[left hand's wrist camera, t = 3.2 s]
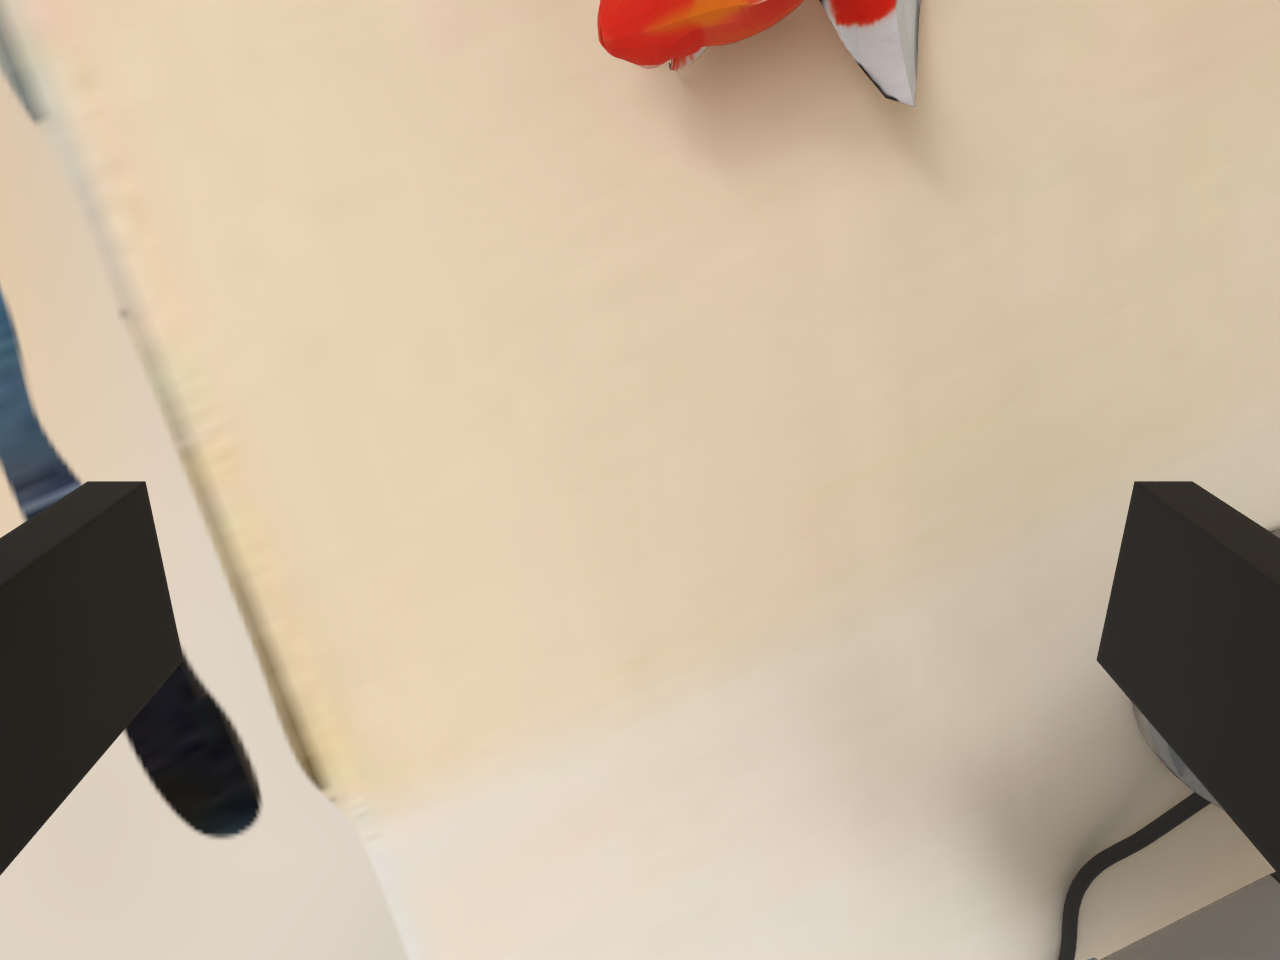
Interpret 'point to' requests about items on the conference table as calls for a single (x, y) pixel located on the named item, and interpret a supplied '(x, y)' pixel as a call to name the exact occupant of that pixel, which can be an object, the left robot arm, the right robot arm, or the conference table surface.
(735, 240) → the conference table surface
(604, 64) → the conference table surface
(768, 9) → the fish
